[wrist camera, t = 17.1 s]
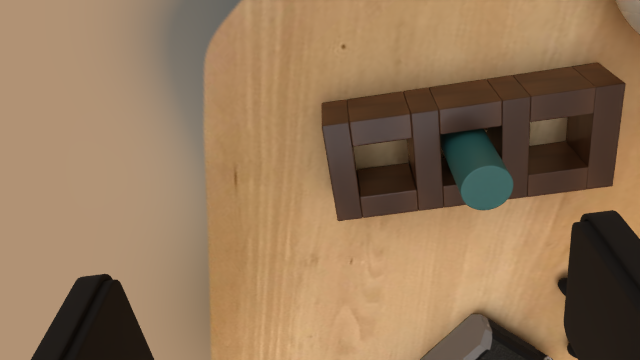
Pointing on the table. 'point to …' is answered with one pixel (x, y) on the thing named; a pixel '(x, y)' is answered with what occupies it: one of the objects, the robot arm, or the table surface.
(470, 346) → the camera
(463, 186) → the peg
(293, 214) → the table surface
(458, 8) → the table surface
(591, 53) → the table surface
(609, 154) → the peg block
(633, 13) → the vase
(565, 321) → the robot arm
